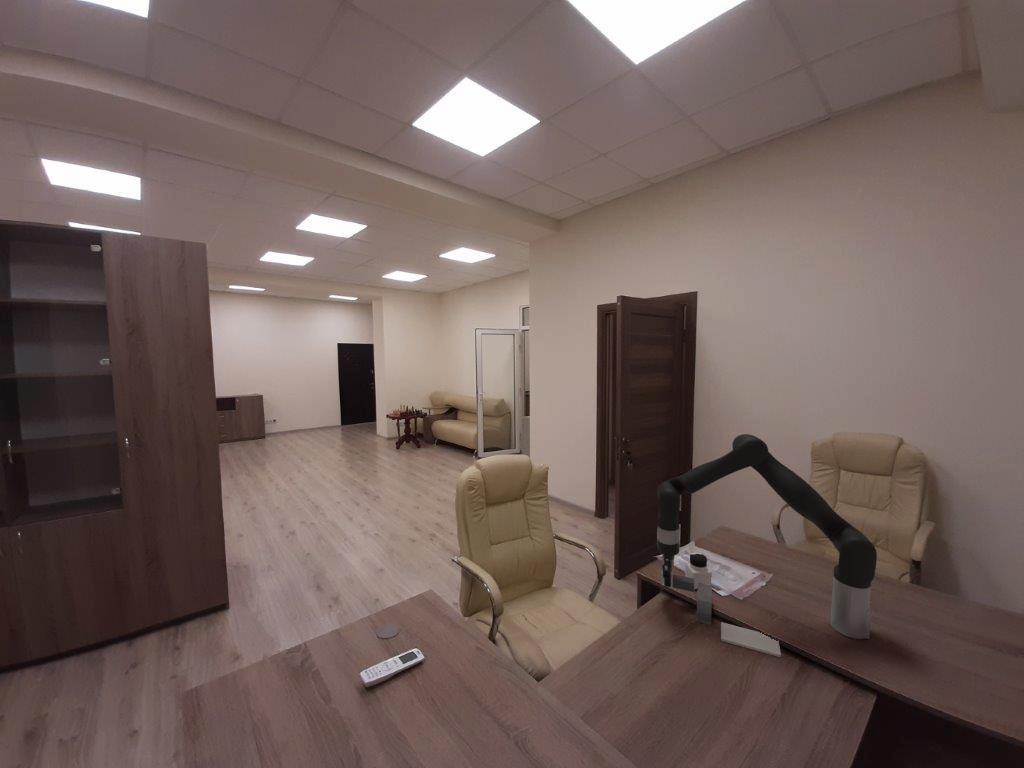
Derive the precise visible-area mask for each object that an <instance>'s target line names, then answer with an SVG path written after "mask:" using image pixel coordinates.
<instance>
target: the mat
mask: <svg viewBox="0 0 1024 768" xmlns="http://www.w3.org/2000/svg"><path fill="white" fill-rule="evenodd" d="M762 633H763V632H761V633H760V631H758V630H757V631H756V630H754V629H753V630H752V629H750V628H746V627H741V626H736V625H734V624H729V623H727V622H722V621H721V622H720V640H721V642H725V643H729V644H732V645H735V646H739V647H742V648H746V649H750V650H753V651H757V652H760V653H764V654H767V655H771V656H774V657H777V658H782V653H781V648H780V643H779V640H778V641H776V640H774V639H771V638H770V637H768V636H766V635H764V634H765V633H764V634H762Z"/></svg>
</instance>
